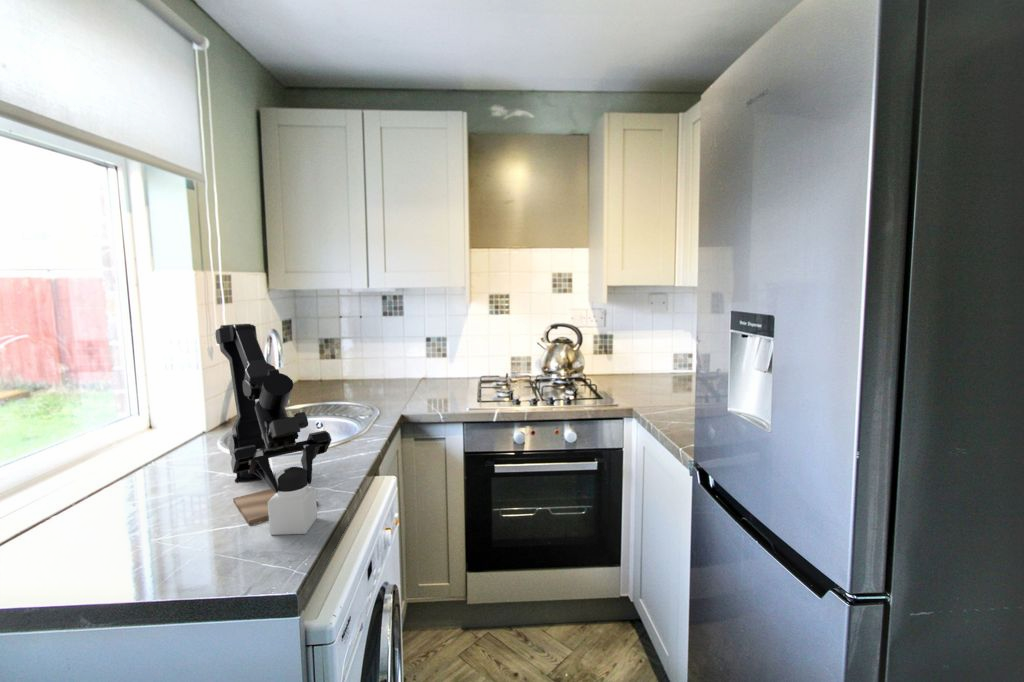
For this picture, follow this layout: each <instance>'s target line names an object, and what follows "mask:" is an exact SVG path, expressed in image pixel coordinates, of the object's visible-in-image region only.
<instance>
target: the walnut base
mask: <svg viewBox="0 0 1024 682" xmlns="http://www.w3.org/2000/svg"><path fill="white" fill-rule="evenodd" d="M275 494H276V493H275V492H274V491H273V490H272V489H271V488H268V489H265V490H261V491H256V492H252V493H249V494H244V495H242V496H241V495H240V496H236V497H233V498H232V499H233V500H232V502H233V504H234V505H235V507H236V508H237V510H238V511H239V513H240V514H241V516H242V517H243V519H244V520H245V522H246V523H247V524H248V526H251V525H256V524H258V523H262V522H266V521H269V514H268V501H269V500H270V499H271V498H272V497H273V496H274V495H275ZM316 502H317V503H318V500H316Z"/></svg>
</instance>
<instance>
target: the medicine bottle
mask: <svg viewBox="0 0 1024 682" xmlns="http://www.w3.org/2000/svg"><path fill="white" fill-rule="evenodd" d="M274 477H275V480H276V482H277V486H278V493H276V494H275V495H274V496H273V497H272V498H271V499H270V500H269V501H268V514H269V520H268V525H269V526H268V527H269V534H270V535H271V536H276V535H277V536H279V535H281V536H282V535H305V534H307V533H308V531H309V530H310V529H311V527H312V526H313V524H314V522H316V520H317V519H318V501H317V488H316V486H313V485H311V486H309V484H308V480H307V470H306V469H304V468H303V467H300V466H291V467H290V466H289V467H286V468H282V469H280V470H278V471H277V472H276V473H275V474H274ZM316 501H317V502H316Z"/></svg>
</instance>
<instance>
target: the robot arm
mask: <svg viewBox="0 0 1024 682" xmlns="http://www.w3.org/2000/svg"><path fill="white" fill-rule="evenodd" d="M256 327H257V326H256V325H254V324H252V323H238V324H237V323H235V324H222V325H220V326H219V328H217V329H216V330H215V340H216V344H218V345H219V349H220V353H221V354H223V356H225V358H226V359H227V360H228V362H229V367H230V374H231V381H232V388H233V394H234V401H235V408H236V409H235V410H236V414H237V417H236V420H235V422H234V423H233V426H232V428H231V429H232V430H231V432H232V434H231V435H230V439H229V443H228V451H229V455H230V456H231V460H230V465H231V470H232V473H234V474H236V477H235V479H234V482H235V483H238V482H239V483H240V482H251V481H252V482H253V481H263V482H265V483H266V485H267V486H268V487H269V489H272V490H273V491H274V492H275V493H278V486H277V482H276V480H275V474H274V473H273V471H272V468H271V464H270V458H271V459H272V458H275V457H276V458H277V457H279V456H284V455H289V454H293V453H297V452H301V454H302V455H301V459H300V463H301V466H302V468H304V469H306V470H307V480H308V485H311V484H312V481H313V480H312V479H313V478H312V477H313V463H314V462H313V461H314V459H316V457H317V456H318V455H321V454H325V453H327V452H328V449H329V448H330V445H331V443H332V440H333V439H332V437H331V434H330V432H329V431H327V430H320V431H316V432H315V431H314V432H311V433H309V434H308V436H307V439H306V440H301V441H297V440H298V439H299V436H300V435H299V433H301V429H305V428H307V427H308V426H309V421H308V416H307V413H306V412H305V411H301V412H296V413H295V414H294V415H293V416H288V413H287V411H286V407H287V406H288V404H289V400H290V397H291V395H292V392H293V389H294V381H293V379H291V378H290V377H289V376H288V375H286V374H284V373H280V371H279V369H278V368H277V369H276V367H275V366H274V365H273V364H270V363H268V362H267V361H266V358H265V356H264V353H263V350H262V349H261V346H260V343H259V340H258V335H257V328H256ZM256 400H257V401H256Z"/></svg>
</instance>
